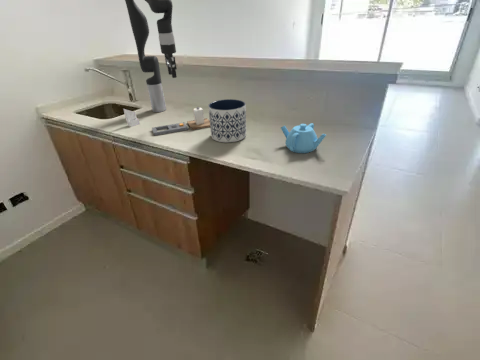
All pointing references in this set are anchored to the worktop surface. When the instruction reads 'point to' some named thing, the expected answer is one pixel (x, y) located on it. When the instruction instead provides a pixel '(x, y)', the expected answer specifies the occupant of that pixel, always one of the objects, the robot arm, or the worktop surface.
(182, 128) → the grey panel with cutout
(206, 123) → the walnut board
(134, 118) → the crumpled white paper
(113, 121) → the worktop surface
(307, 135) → the teapot
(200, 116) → the block
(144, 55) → the robot arm
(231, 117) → the planter
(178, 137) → the worktop surface
